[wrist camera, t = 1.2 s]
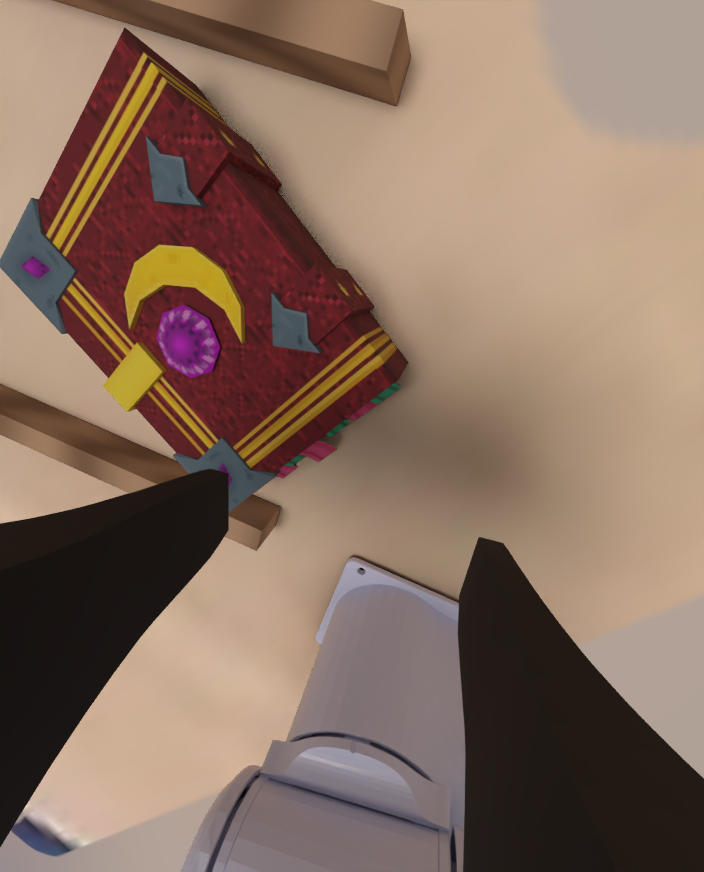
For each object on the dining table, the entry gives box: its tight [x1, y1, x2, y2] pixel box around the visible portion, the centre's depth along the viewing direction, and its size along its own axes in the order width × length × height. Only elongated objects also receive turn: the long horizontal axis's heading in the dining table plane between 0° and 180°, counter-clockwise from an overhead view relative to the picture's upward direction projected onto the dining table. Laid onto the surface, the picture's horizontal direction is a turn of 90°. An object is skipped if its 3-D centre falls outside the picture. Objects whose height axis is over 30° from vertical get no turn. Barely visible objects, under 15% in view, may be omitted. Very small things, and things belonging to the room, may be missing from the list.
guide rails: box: [0, 0, 411, 551], centre depth 18 cm, size 22×23×2 cm
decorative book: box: [0, 28, 408, 512], centre depth 17 cm, size 11×16×5 cm
